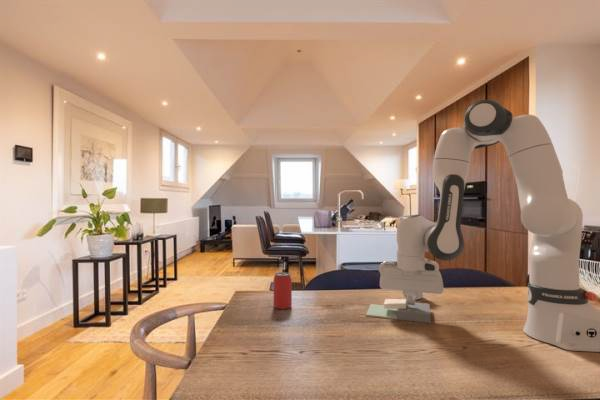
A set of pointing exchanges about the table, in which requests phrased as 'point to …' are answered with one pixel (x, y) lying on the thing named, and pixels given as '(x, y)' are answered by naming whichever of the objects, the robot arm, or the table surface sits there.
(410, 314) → the block
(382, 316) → the mat
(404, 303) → the tile
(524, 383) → the table surface
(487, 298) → the table surface
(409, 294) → the skincare box
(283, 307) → the beer can
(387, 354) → the table surface
